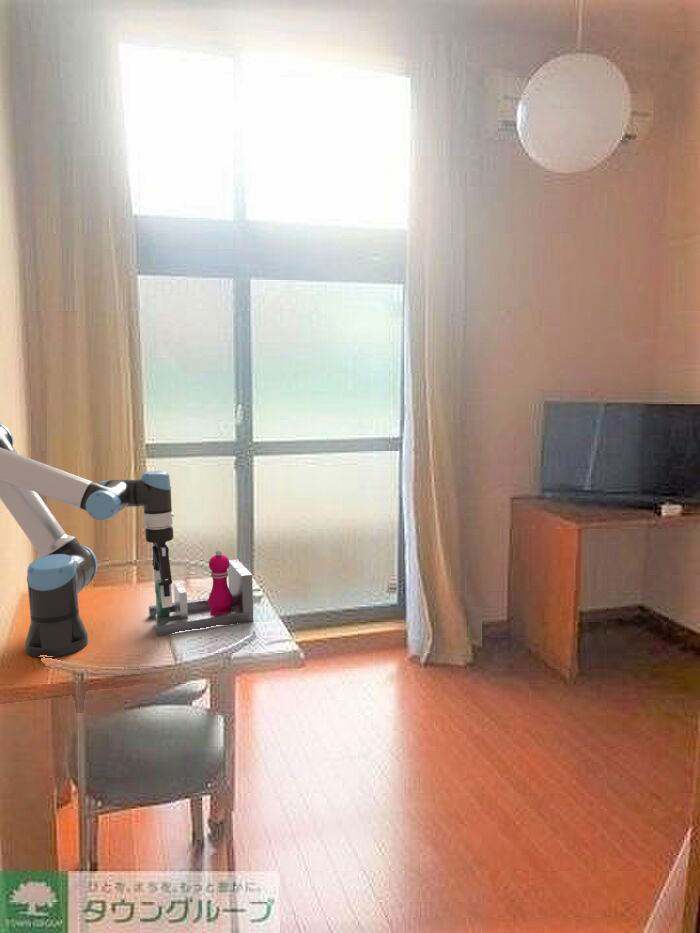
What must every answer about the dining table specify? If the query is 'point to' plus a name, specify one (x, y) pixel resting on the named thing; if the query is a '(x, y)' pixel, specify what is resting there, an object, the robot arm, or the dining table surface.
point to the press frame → (241, 605)
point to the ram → (180, 604)
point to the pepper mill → (219, 585)
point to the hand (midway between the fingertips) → (163, 599)
